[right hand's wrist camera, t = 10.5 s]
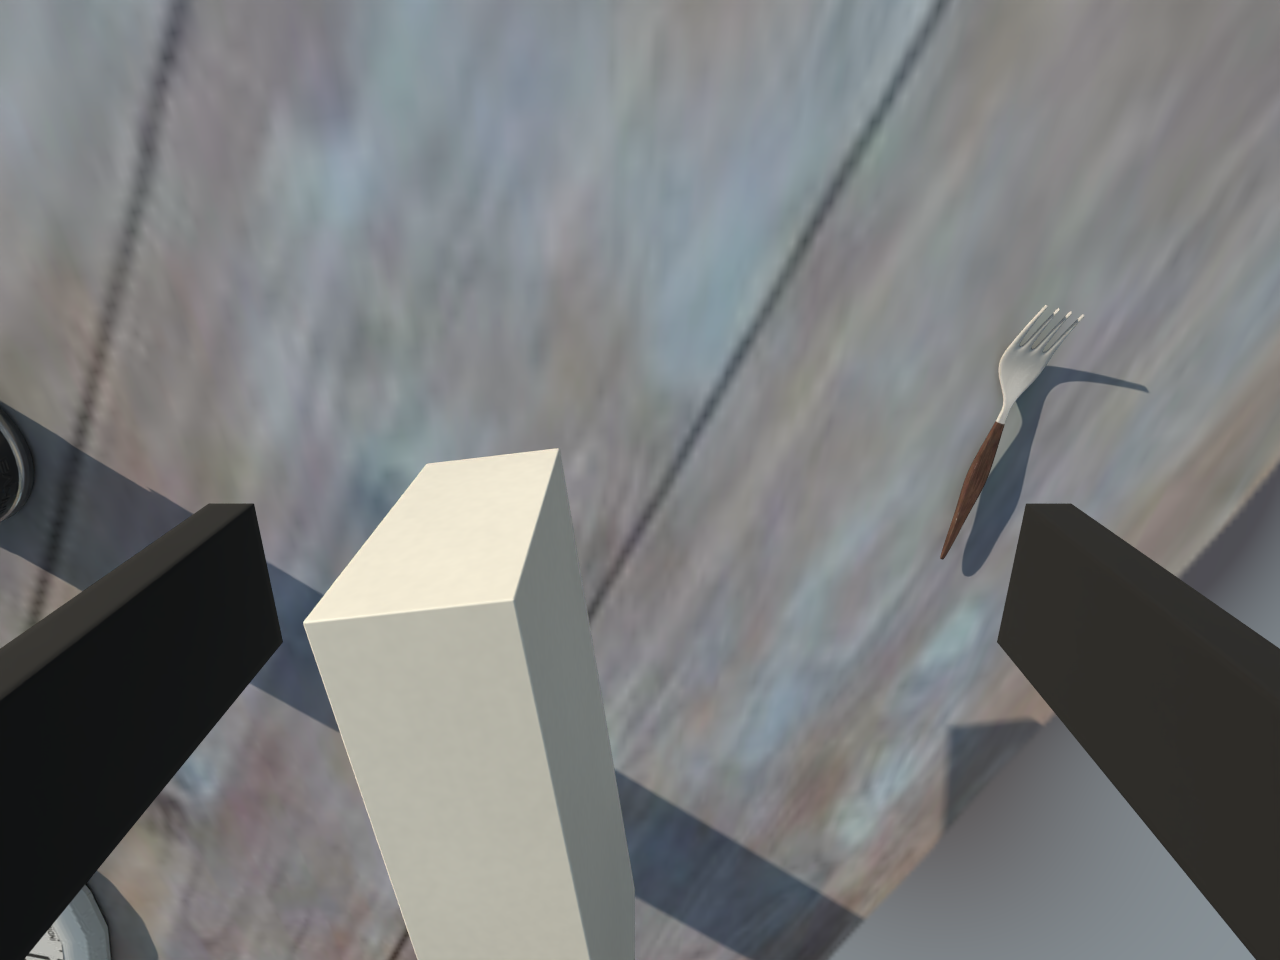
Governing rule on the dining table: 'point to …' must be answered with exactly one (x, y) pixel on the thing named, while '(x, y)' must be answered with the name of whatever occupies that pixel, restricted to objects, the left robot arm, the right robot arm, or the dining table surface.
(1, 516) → the left robot arm
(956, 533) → the fork
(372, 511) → the dining table surface
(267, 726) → the dining table surface
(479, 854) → the box
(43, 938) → the wall clock
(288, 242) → the dining table surface
